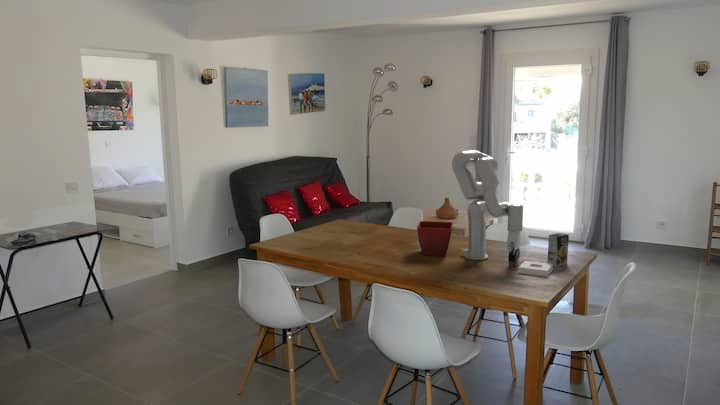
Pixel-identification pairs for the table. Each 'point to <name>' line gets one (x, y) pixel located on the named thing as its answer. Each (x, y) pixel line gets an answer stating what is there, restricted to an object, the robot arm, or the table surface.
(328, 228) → the table surface
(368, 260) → the table surface
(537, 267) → the outlet
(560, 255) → the coffee box
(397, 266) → the table surface
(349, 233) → the table surface
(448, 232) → the plant pot
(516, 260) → the dark grey rectangular block
